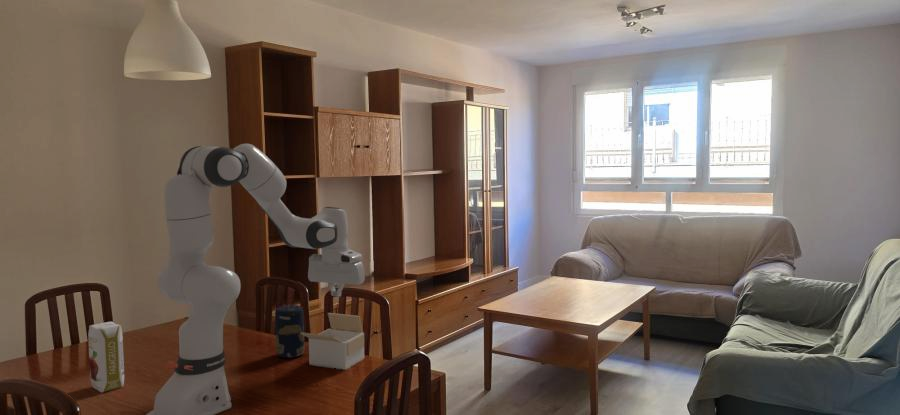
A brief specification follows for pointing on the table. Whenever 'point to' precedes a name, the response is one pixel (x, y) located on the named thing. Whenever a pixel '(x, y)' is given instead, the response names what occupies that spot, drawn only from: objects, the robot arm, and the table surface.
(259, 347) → the table surface
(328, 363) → the carton
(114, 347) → the juice carton
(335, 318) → the flap far
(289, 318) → the canister
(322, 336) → the flap near
